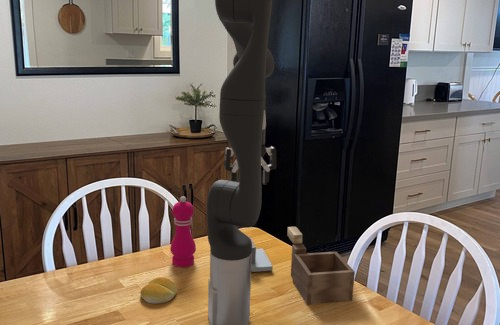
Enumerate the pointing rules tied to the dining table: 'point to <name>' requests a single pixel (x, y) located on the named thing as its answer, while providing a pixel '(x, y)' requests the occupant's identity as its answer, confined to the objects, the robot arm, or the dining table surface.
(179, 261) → the pepper mill
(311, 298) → the toolbox
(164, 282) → the bread roll
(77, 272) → the dining table surface
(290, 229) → the wooden key
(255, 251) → the lid
